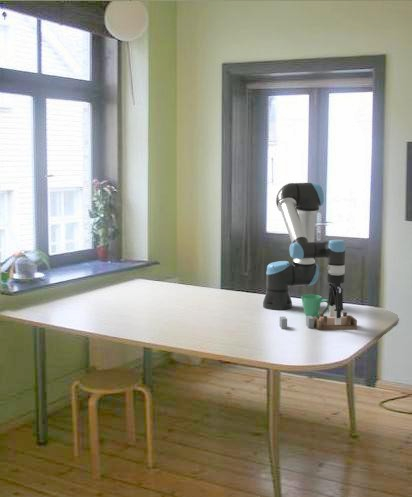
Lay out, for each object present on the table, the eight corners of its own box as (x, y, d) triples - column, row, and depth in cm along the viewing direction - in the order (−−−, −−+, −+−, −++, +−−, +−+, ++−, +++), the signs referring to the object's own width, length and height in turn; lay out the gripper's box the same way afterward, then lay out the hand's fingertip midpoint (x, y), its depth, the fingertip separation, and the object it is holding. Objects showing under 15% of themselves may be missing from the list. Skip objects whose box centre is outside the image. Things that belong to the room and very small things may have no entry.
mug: (297, 317, 351) (298, 297, 350) (306, 313, 359) (306, 293, 358) (325, 321, 343) (326, 300, 342) (333, 317, 352) (334, 297, 350)
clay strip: (319, 324, 333) (319, 316, 332) (348, 323, 334) (348, 316, 334) (320, 325, 330) (320, 318, 329) (350, 325, 331) (350, 317, 331)
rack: (313, 325, 336) (313, 312, 335) (351, 324, 337) (351, 311, 336) (318, 330, 327) (318, 317, 326) (356, 329, 328) (357, 316, 328)
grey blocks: (279, 326, 334) (279, 316, 333) (311, 325, 336) (311, 315, 335) (281, 328, 329) (281, 319, 329) (313, 327, 331) (314, 318, 330)
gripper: (322, 269, 339) (321, 316, 342) (334, 278, 318) (333, 328, 321) (337, 269, 339) (336, 316, 343) (351, 277, 318) (349, 327, 321)
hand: (335, 322), depth 332 cm, fingers open, 9 cm apart
